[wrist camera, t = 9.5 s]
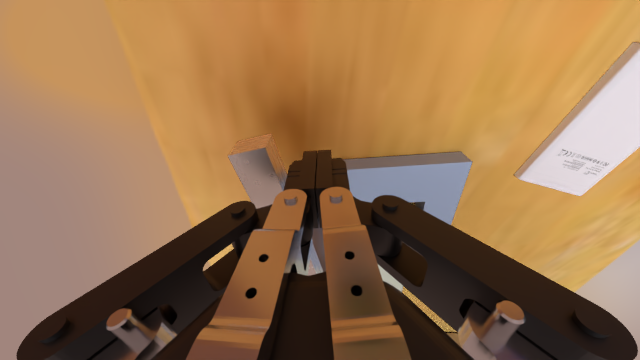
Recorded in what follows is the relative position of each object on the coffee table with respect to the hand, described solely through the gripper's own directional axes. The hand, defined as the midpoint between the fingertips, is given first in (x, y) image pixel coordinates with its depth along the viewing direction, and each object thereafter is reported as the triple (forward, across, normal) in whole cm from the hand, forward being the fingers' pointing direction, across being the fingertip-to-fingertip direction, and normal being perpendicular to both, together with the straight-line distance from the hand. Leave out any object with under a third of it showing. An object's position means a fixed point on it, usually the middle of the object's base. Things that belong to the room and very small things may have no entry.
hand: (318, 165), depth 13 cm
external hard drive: (+10, -26, +4) cm, 28 cm away
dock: (+9, -5, +12) cm, 16 cm away
